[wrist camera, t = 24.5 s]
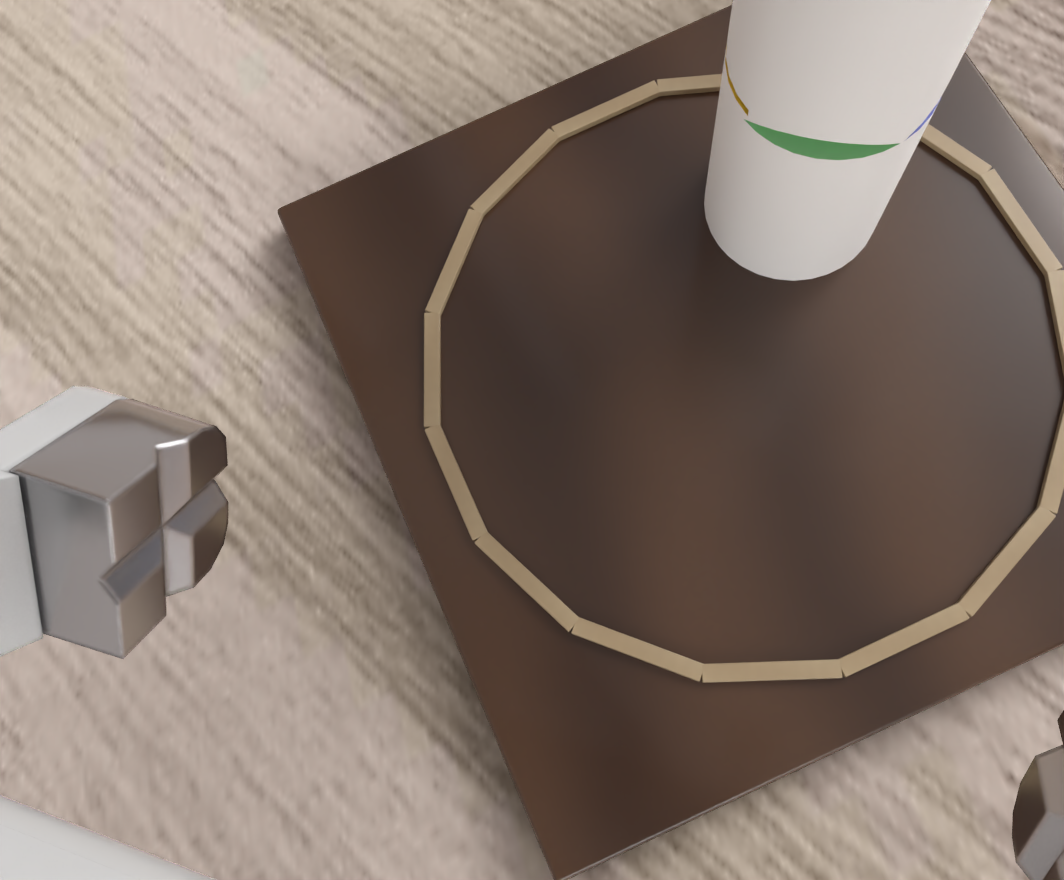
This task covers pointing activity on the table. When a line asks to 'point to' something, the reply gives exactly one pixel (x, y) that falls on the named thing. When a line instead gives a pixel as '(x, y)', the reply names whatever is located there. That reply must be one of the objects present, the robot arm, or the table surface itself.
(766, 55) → the tube
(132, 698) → the table surface
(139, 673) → the table surface
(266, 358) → the table surface
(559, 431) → the board
